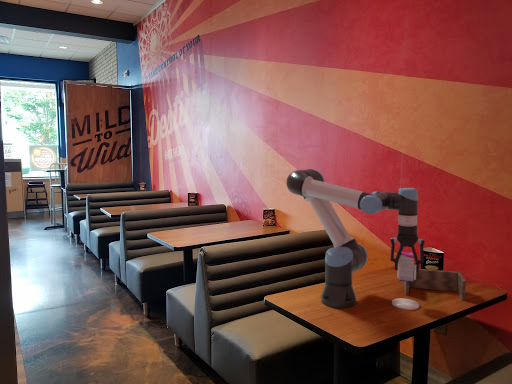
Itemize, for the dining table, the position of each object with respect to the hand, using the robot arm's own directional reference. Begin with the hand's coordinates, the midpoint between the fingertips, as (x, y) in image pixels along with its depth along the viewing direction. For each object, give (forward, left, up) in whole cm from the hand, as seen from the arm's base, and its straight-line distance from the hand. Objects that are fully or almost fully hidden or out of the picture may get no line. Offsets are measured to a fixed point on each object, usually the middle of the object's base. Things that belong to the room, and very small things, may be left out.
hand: (406, 278), depth 166 cm
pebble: (0, 0, -12) cm, 12 cm away
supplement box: (0, +3, -1) cm, 3 cm away
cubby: (+13, +18, -12) cm, 25 cm away
